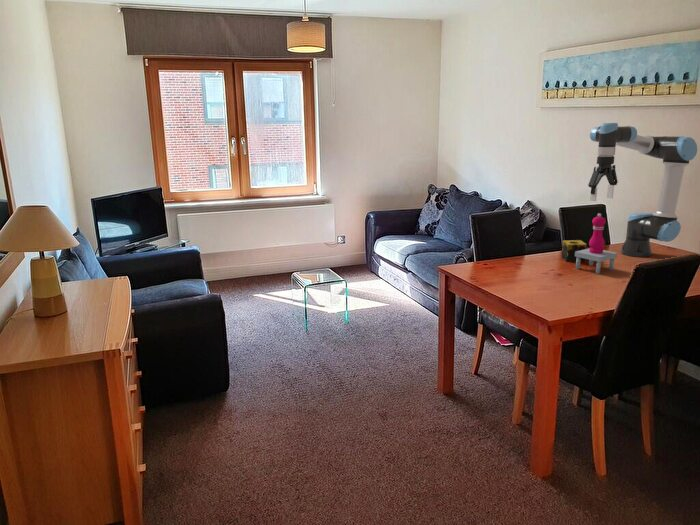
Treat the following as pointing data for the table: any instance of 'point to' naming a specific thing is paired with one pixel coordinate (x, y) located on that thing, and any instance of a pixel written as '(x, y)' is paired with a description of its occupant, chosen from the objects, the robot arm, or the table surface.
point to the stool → (595, 258)
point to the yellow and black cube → (572, 250)
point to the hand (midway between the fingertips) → (601, 199)
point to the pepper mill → (597, 235)
